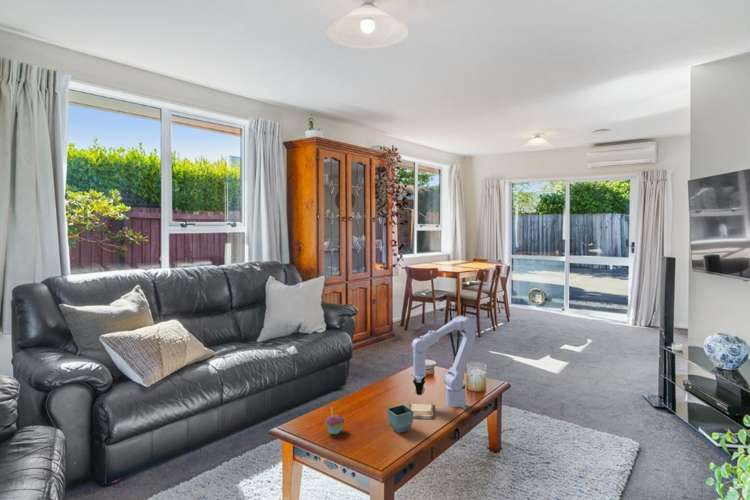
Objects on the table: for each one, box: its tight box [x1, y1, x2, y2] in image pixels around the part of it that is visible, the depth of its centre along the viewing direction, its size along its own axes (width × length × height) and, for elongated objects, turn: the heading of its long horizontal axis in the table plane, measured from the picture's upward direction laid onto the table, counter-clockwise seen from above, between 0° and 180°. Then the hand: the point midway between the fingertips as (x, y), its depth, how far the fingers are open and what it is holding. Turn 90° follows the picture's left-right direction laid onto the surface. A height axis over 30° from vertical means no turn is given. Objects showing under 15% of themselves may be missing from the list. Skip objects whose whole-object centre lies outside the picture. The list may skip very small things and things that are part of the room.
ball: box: [413, 386, 426, 395], centre depth 215 cm, size 5×5×5 cm
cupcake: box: [324, 406, 345, 435], centre depth 195 cm, size 9×8×12 cm
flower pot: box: [386, 404, 414, 434], centre depth 195 cm, size 9×9×9 cm
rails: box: [406, 400, 434, 420], centre depth 213 cm, size 12×17×2 cm
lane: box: [409, 403, 431, 412], centre depth 213 cm, size 12×17×1 cm
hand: (419, 392), depth 215 cm, fingers closed on ball, 5 cm apart
